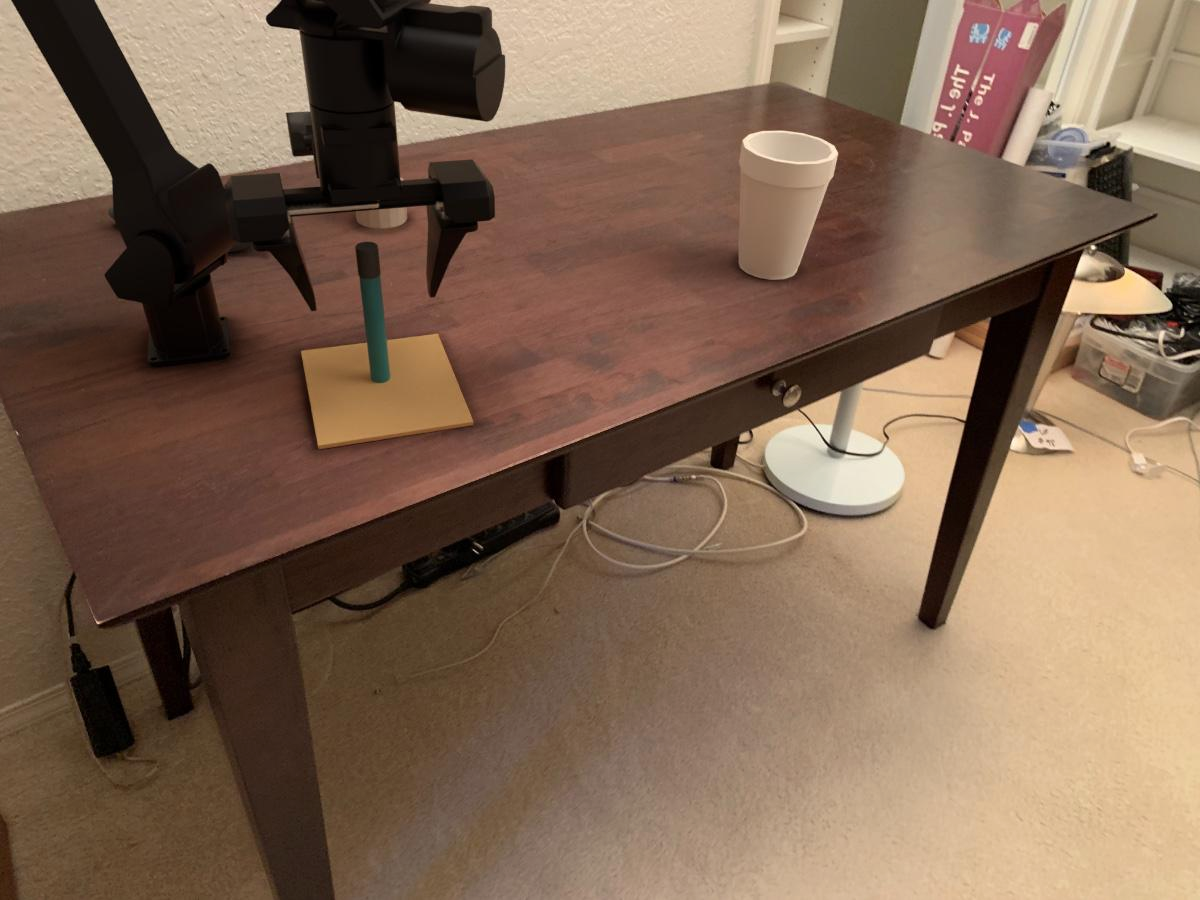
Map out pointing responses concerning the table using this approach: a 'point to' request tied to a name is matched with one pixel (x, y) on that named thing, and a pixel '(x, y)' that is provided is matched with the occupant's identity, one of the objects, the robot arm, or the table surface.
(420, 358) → the desk mat
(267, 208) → the robot arm
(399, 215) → the pot
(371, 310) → the pen
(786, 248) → the foam cup
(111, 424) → the table surface
